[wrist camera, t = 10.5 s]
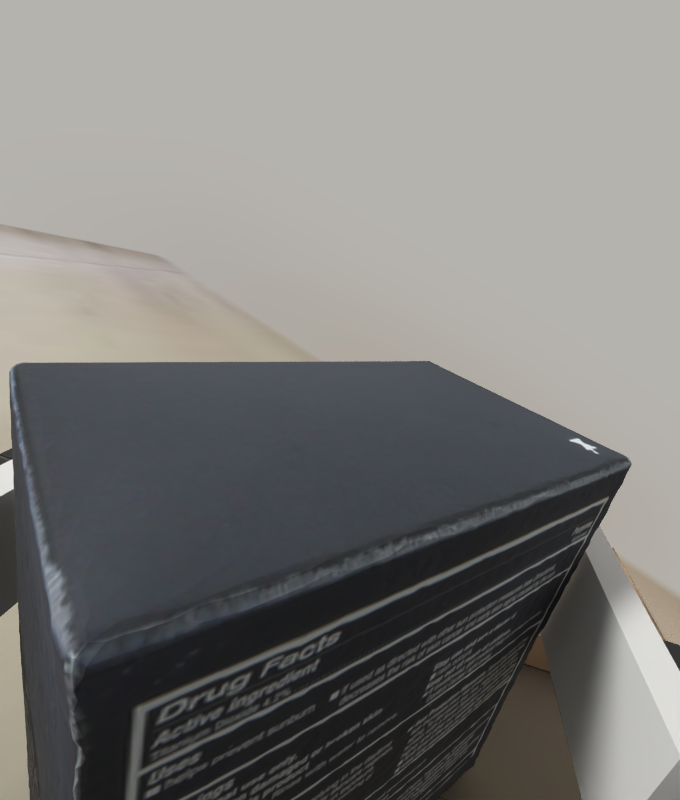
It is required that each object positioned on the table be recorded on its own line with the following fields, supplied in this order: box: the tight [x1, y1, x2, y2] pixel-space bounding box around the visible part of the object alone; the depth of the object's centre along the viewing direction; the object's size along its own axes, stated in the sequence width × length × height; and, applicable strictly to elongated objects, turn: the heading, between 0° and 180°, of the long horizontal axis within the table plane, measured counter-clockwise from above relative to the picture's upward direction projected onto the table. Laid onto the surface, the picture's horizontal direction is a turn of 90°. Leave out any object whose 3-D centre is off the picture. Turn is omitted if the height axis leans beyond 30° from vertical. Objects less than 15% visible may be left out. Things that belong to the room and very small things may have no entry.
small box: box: [9, 361, 631, 800], centre depth 10 cm, size 11×6×10 cm, turn 127°
